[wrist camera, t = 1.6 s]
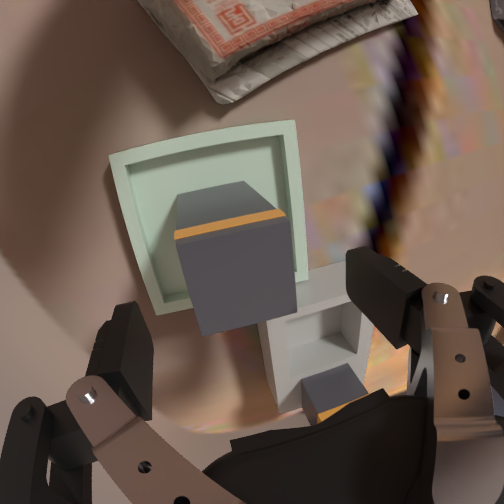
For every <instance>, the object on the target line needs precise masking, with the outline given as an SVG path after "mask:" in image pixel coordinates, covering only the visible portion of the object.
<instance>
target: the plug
mask: <svg viewBox="0 0 504 504" xmlns="http://www.w3.org/2000/svg"><path fill="white" fill-rule="evenodd" d="M174 240H175V243H176V249H177V252H178V256H179V260H180V264H181V267H182V271H183V275H184V278H185V282H186V285H187V289H188V292H189V295H190V299H191V302H192V306H193V309H194V312H195V315H196V319H197V322H198V325H199V328H200V331H201V335H202V336H207V335H211V334H215V333H220V332H224V331H228V330H232V329H236V328H240V327H244V326H248V325H252V324H256V323H260V322H264V321H268V320H272V319H275V318H279V317H283V316H286V315H290V314H293V313H297V297H296V283H295V270H294V258H293V246H292V235H291V224H290V220H289V219H288V218H286V214H285V213H284V212H282V211H281V210H280V209H276V208H275V207H274V206H273V205H272V204H270V203H269V202H268V201H267V200H266V199H265V198H264V197H262V196H261V195H260V194H259V193H258V192H257V191H255V190H254V189H253V188H252V187H251V186H250V185H248V184H247V183H246V182H245V181H239V182H234V183H229V184H224V185H219V186H214V187H209V188H204V189H199V190H195V191H190V192H186V193H181V194H178V196H177V219H176V231H174Z"/></svg>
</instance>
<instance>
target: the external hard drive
mask: <svg viewBox="0 0 504 504" xmlns="http://www.w3.org/2000/svg"><path fill="white" fill-rule="evenodd" d="M490 3H491V11H492V17H493V20H494V21H495V22H496V23H497V24H498V26H499V27H500V28H501V29H502V31H503V32H504V0H490Z"/></svg>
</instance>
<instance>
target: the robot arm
mask: <svg viewBox="0 0 504 504" xmlns="http://www.w3.org/2000/svg"><path fill="white" fill-rule="evenodd" d="M346 291H347V295H348V297H349V299H350V300H351V301H352V302H353V303H354V304H355V305H356V306H357V308H358V309H359V310H360V311H361V312H362V313H363V314H364V315H365V316H366V317H367V318H368V319H369V320H370V321H371V322H372V323H373V325H374V326H375V327H376V328H377V329H378V330H379V331H380V332H381V333H382V334H383V335H384V336H385V337H386V339H387V340H388V341H389V342H390V343H391V344H392V345H393V346H394V347H395V348H396V349H399V348H401V347H403V346H405V345H407V344H408V345H409V346H410V350H409V358H408V380H407V393H406V395H399V396H391V397H389V396H388V394H387V393H386V392H385V390H384V389H383V388H382V389H380V390H378V391H375V392H373V393H371V394H369V395H367V396H364V397H362V398H360V399H357V400H355V401H353V402H350V403H349V404H347V405H346V406H344V407H343V408H341V409H340V410H339V411H337V412H336V413H334V414H333V415H331V416H330V417H328V418H327V419H325V420H323V421H322V422H320V423H319V424H317V425H314V426H308V427H301V428H290V429H279V430H269V431H266V432H262V433H258V434H254V435H251V436H246V437H242V438H238V439H233V440H230V443H231V447H232V451H231V452H229V453H227V454H225V455H223V456H222V457H220V458H218V459H217V460H215V461H214V462H213V463H211V464H210V465H209V466H208V467H206V468H205V470H203V471H202V472H201V471H200V470H199V469H197V468H196V467H195V466H194V465H192V464H191V463H190V462H189V461H188V460H186V459H185V458H184V457H183V456H182V455H180V454H179V453H178V452H177V451H176V450H175V449H174V448H173V447H171V446H170V445H169V444H168V443H167V442H166V441H165V440H164V439H163V438H162V437H161V436H159V435H158V434H157V433H156V432H155V431H154V430H153V429H152V428H151V427H150V426H149V425H148V424H147V423H146V422H145V421H149V420H152V380H153V355H154V348H153V342H152V338H151V335H150V333H149V330H148V328H147V326H146V323H145V321H144V318H143V316H142V314H141V311H140V309H139V306H138V304H137V303H136V302H135V301H133V302H128V303H124V304H119V305H116V306H115V309H114V312H113V315H112V319H111V320H109V321H106V322H105V323H104V324H103V325H102V327H101V328H100V329H99V330H98V333H97V337H96V340H95V341H96V342H95V343H94V347H93V350H92V353H91V357H90V360H89V364H88V368H87V371H86V375H85V377H83V378H81V379H79V380H77V381H76V382H74V384H72V385H71V387H70V388H69V390H68V392H67V394H66V400H64V401H61V402H59V403H56V404H53V405H51V406H48V407H47V406H46V405H45V404H44V403H43V401H42V400H41V399H40V398H38V397H28V398H25V399H23V400H22V401H21V402H19V403H18V405H17V406H16V407H15V408H14V410H13V412H12V415H11V419H10V422H9V425H8V429H7V433H6V437H5V441H4V445H3V449H2V453H1V458H0V504H92V484H91V483H92V479H91V477H92V462H95V461H99V462H100V464H101V465H102V466H103V468H104V469H105V470H106V472H107V473H108V474H109V475H110V477H111V478H112V480H113V481H114V482H115V483H116V485H117V486H118V487H119V488H120V490H121V491H122V492H123V493H124V494H125V496H126V497H127V498H128V499H129V500H130V501H131V502H132V504H504V417H501V416H497V415H494V407H493V398H492V391H491V386H492V387H493V388H494V389H495V390H496V391H497V392H498V393H499V395H500V396H501V397H502V398H503V399H504V346H503V345H502V344H500V343H499V342H498V341H497V340H496V339H495V338H494V337H493V336H492V335H491V334H492V331H493V329H494V326H495V323H496V321H497V322H498V323H499V324H500V325H501V326H503V327H504V283H503V282H501V281H500V280H498V279H496V278H494V277H491V276H479V277H477V278H476V279H475V280H474V283H473V287H472V291H466V292H460V293H459V292H458V291H457V290H456V289H455V288H454V287H452V286H450V285H448V284H444V283H431V284H426V283H425V282H423V281H422V280H421V279H419V278H418V277H416V276H415V275H414V274H412V273H411V272H409V271H408V270H407V271H406V269H405V268H404V267H402V266H401V265H400V266H399V264H398V263H397V262H395V261H394V260H392V259H391V258H388V257H385V256H382V255H379V254H377V253H376V252H374V251H373V250H371V249H370V248H368V247H367V246H362V247H358V248H355V249H351V250H348V251H347V253H346ZM48 459H49V460H50V461H51V470H50V482H49V486H48V484H47V480H46V473H47V463H48Z"/></svg>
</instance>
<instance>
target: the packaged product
mask: <svg viewBox="0 0 504 504" xmlns="http://www.w3.org/2000/svg"><path fill="white" fill-rule="evenodd" d="M137 1H138V2H139V4H140V5H141V6H142V7H143V9H144V10H145V11H146V12H147V14H148V15H149V16H150V18H151V19H152V20H153V21H154V23H155V24H156V25H157V27H158V28H159V29H160V30H161V32H162V33H163V34H164V35H165V36H166V37H167V38H168V39H169V40H170V42H171V43H172V44H173V45H174V46H175V47H176V48H177V50H178V51H179V52H180V53H181V54H182V55H183V56H184V58H185V59H186V60H187V61H188V63H189V64H190V65H191V67H192V68H193V70H194V71H195V72H196V74H197V75H198V77H199V78H200V79H201V81H202V82H203V84H204V85H205V86H206V88H207V89H208V91H209V92H210V94H211V95H212V96H213V98H214V99H215V101H216V102H217V103H219V104H222V105H224V104H229V103H233V102H235V101H237V100H238V99H240V98H242V97H244V96H245V95H247V94H248V93H250V92H252V91H253V90H255V89H256V88H258V87H259V86H261V85H262V84H264V83H266V82H267V81H269V80H270V79H272V78H274V77H276V76H278V75H279V74H281V73H283V72H285V71H287V70H289V69H291V68H293V67H295V66H297V65H299V64H301V63H303V62H305V61H307V60H309V59H311V58H313V57H315V56H317V55H319V54H321V53H322V52H324V51H326V50H328V49H331V48H333V47H335V46H338V45H340V44H343V43H345V42H348V41H350V40H353V39H355V38H357V37H359V36H361V35H363V34H366V33H369V32H371V31H374V30H377V29H379V28H382V27H385V26H388V25H391V24H394V23H397V22H400V21H402V20H405V19H407V18H410V17H412V16H415V15H418V13H417V11H416V10H415V8H414V6H413V5H412V3H411V1H410V0H137Z"/></svg>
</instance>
